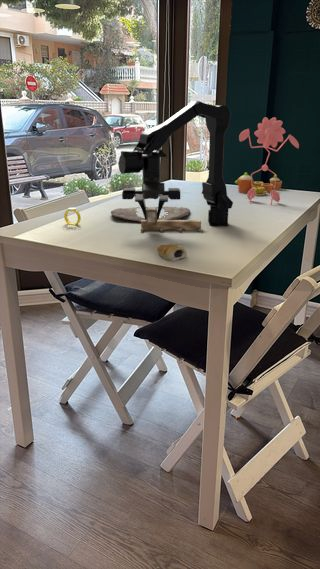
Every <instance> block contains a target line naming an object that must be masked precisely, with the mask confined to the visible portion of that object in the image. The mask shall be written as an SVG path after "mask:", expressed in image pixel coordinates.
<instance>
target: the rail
mask: <svg viewBox="0 0 320 569" xmlns="http://www.w3.org/2000/svg"><path fill="white" fill-rule="evenodd" d="M166 229H179V230H178V231H180V232H179V233H183V230H182V229H185V230H184V231H198V230H199V231H198V233H199V232H201V233H202V220H200V219H185V220H184V219H175V220H157V225H146V220H141V222H140V233H144V231H159V232H160V233H163V231H167V230H166Z"/></svg>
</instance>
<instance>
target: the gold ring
mask: <svg viewBox="0 0 320 569" xmlns="http://www.w3.org/2000/svg"><path fill="white" fill-rule="evenodd" d="M69 212H73V213H75V214H76V216H77V222H76V223H73V222H71V221H69V218H68V213H69ZM64 220H65V222H66V224H68V225H70V226H77V225H78V224H80V222H81V220H82V219H81V214H80V212H79V211H78V210H77V208H76V207H68V208H67V210H66V211H65V212H64Z"/></svg>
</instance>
